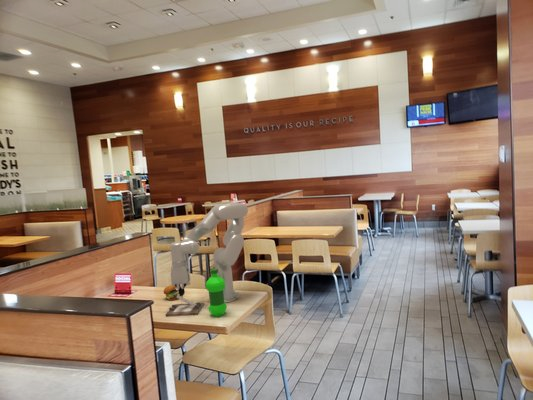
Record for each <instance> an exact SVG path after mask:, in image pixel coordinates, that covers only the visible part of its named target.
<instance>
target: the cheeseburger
mask: <svg viewBox="0 0 533 400" xmlns="http://www.w3.org/2000/svg"><path fill="white" fill-rule="evenodd" d="M163 294H164V295H165V298H166V300H168V301H174V300H179V299H178V298H176V297H174V295H175V294H177V295H179V296H180V294H179V291H178V289H177V287H175V286H172V285H171V284H170V285H169V286H166V287H164V289H163ZM181 297H183V296H181Z"/></svg>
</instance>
